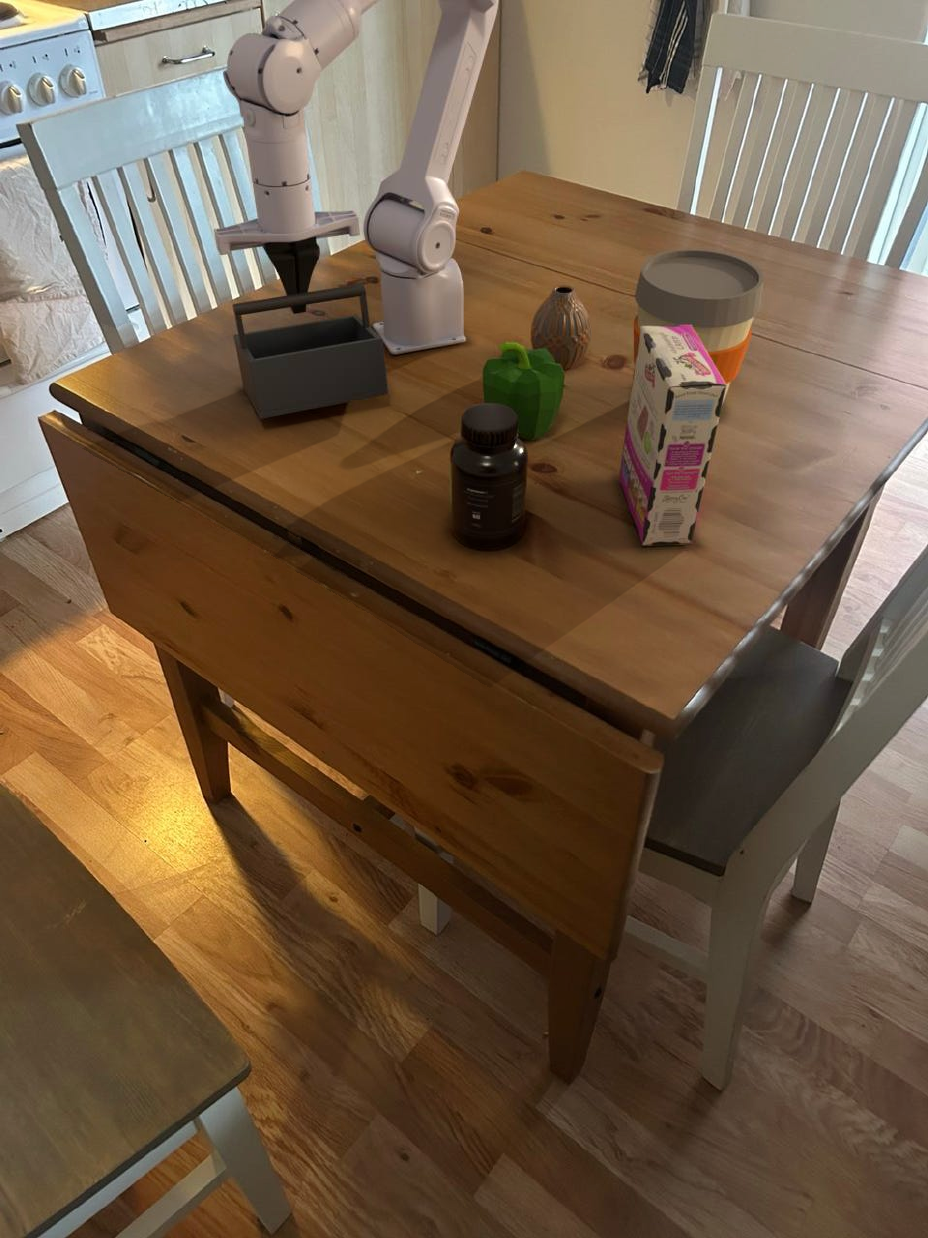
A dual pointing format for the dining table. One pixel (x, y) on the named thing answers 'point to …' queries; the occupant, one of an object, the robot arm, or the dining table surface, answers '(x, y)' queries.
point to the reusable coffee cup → (702, 301)
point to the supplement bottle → (488, 478)
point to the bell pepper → (525, 387)
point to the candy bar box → (669, 433)
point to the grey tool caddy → (310, 356)
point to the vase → (562, 327)
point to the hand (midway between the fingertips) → (297, 309)
